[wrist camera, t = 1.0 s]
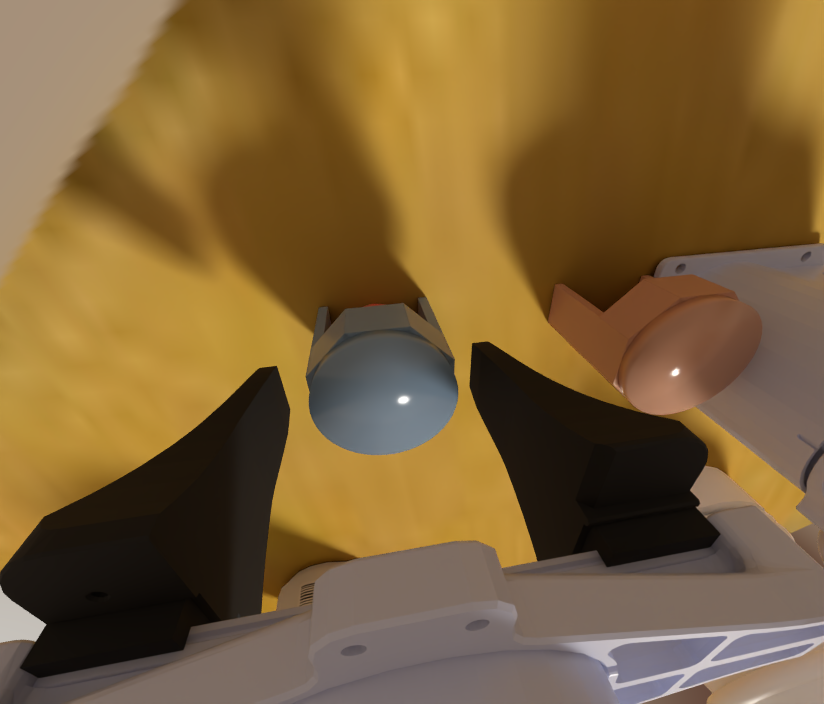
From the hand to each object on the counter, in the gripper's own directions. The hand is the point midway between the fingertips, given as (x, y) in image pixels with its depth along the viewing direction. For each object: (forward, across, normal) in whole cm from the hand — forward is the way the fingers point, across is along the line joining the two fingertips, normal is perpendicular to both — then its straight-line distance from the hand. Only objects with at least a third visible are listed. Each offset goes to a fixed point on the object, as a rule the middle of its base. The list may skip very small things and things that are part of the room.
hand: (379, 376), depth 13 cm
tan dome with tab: (+4, -12, 0) cm, 12 cm away
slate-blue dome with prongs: (+4, 0, 0) cm, 5 cm away
